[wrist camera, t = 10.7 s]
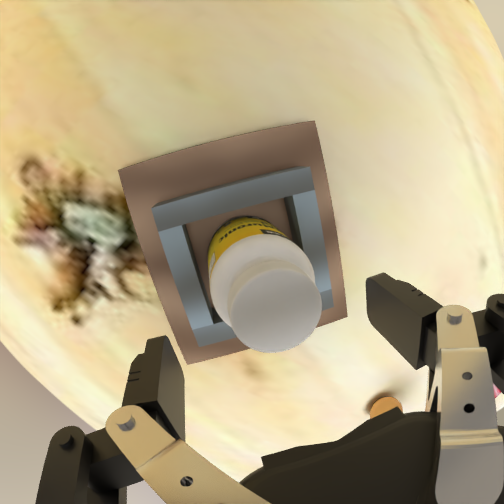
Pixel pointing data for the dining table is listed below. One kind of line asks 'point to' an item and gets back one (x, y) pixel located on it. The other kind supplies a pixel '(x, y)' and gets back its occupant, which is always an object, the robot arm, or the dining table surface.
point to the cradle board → (223, 209)
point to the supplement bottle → (262, 285)
